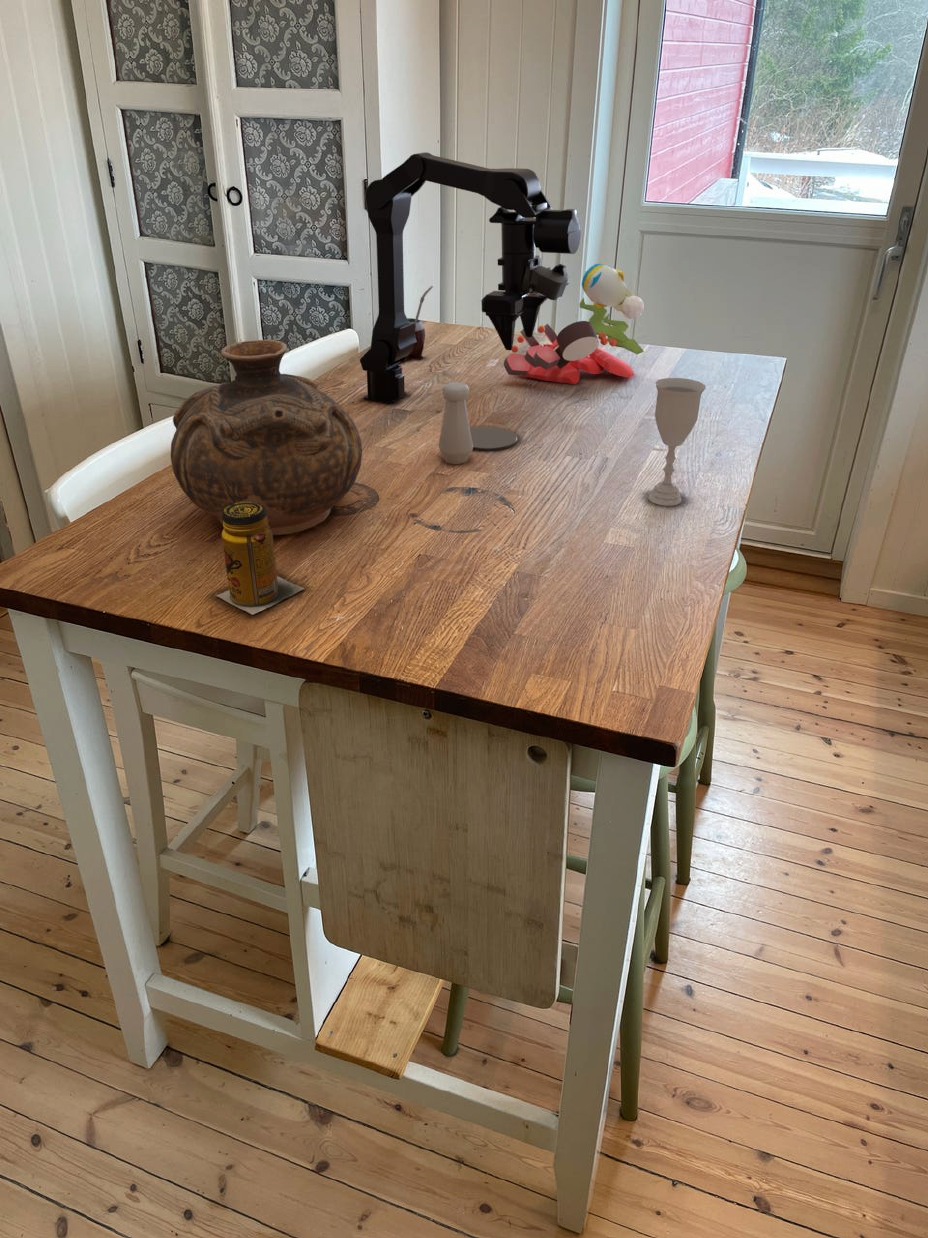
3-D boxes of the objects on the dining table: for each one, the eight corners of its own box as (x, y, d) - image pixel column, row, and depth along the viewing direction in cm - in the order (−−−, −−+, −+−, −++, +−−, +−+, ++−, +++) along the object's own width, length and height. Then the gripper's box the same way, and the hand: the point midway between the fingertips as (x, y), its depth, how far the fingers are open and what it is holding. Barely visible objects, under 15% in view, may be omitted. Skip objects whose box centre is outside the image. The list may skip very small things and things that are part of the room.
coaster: (445, 444, 164) (445, 442, 164) (469, 425, 173) (469, 422, 173) (503, 454, 161) (503, 452, 160) (525, 434, 169) (525, 431, 169)
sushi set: (546, 412, 183) (465, 341, 192) (605, 433, 208) (531, 370, 217) (639, 284, 172) (549, 216, 181) (689, 323, 198) (608, 262, 207)
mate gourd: (388, 359, 209) (386, 289, 201) (403, 350, 215) (402, 282, 207) (419, 363, 206) (418, 292, 199) (433, 354, 213) (433, 285, 205)
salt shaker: (474, 454, 161) (475, 379, 154) (471, 466, 156) (472, 390, 149) (440, 452, 161) (440, 377, 154) (436, 465, 156) (436, 388, 150)
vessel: (287, 573, 123) (258, 385, 111) (142, 533, 136) (101, 361, 124) (406, 500, 143) (392, 333, 130) (269, 471, 156) (244, 317, 143)
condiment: (215, 596, 118) (203, 509, 112) (268, 572, 124) (258, 488, 118) (252, 616, 114) (241, 527, 108) (305, 590, 120) (297, 504, 114)
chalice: (691, 493, 147) (708, 381, 138) (685, 511, 142) (703, 394, 133) (645, 487, 149) (658, 375, 140) (637, 503, 144) (651, 388, 135)
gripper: (541, 263, 150) (541, 361, 158) (581, 243, 164) (579, 333, 172) (478, 260, 154) (481, 355, 162) (523, 241, 168) (523, 329, 176)
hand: (519, 343), depth 168 cm, fingers open, 9 cm apart
